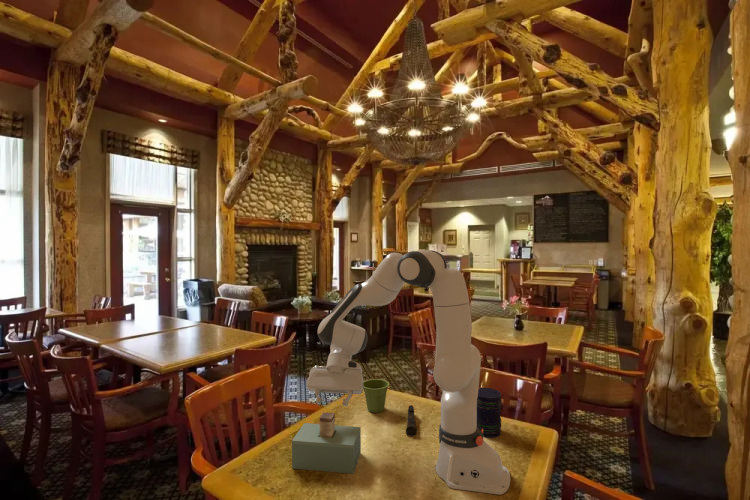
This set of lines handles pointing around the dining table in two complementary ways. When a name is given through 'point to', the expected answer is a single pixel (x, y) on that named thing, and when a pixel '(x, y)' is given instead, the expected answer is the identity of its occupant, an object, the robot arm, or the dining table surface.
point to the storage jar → (489, 412)
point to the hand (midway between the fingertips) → (331, 404)
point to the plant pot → (375, 394)
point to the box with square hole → (326, 449)
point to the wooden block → (327, 425)
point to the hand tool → (411, 422)
